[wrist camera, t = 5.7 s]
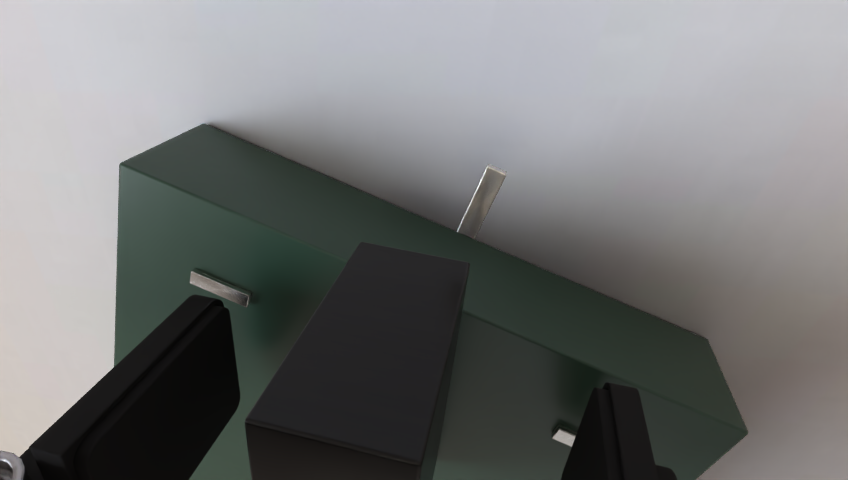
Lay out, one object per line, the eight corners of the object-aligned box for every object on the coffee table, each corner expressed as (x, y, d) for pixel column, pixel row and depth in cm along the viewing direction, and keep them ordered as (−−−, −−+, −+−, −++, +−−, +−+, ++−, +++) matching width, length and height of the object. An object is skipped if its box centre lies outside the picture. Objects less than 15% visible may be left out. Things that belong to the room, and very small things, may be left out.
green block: (796, 244, 11) (877, 334, 8) (508, 555, 19) (502, 653, 16) (218, -5, 11) (115, 6, 8) (169, 409, 19) (106, 484, 16)
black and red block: (360, 240, 10) (231, 436, 6) (470, 261, 10) (417, 483, 5) (352, 441, 13) (264, 663, 9) (436, 462, 13) (385, 702, 8)
